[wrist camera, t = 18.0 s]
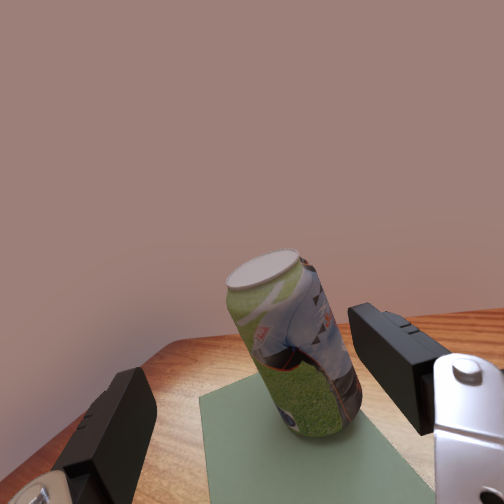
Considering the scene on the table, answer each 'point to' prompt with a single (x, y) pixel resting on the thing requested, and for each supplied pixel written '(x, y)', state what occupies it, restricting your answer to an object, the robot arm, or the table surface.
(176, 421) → the table surface
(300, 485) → the green open cubby
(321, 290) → the beverage can
